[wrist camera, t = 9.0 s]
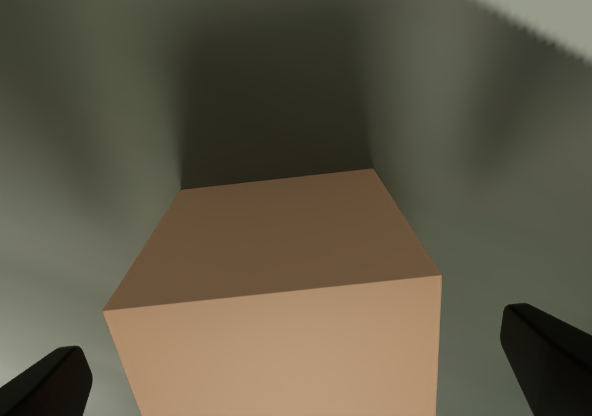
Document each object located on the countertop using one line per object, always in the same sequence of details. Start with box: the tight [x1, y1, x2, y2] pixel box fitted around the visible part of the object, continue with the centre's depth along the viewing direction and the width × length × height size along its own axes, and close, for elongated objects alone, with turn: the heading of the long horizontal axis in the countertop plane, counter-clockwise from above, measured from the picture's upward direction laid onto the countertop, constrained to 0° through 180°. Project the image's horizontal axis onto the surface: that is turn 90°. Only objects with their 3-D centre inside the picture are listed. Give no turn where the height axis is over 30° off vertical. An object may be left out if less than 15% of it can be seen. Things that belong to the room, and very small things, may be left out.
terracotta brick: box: [103, 168, 442, 416], centre depth 9 cm, size 5×5×5 cm
